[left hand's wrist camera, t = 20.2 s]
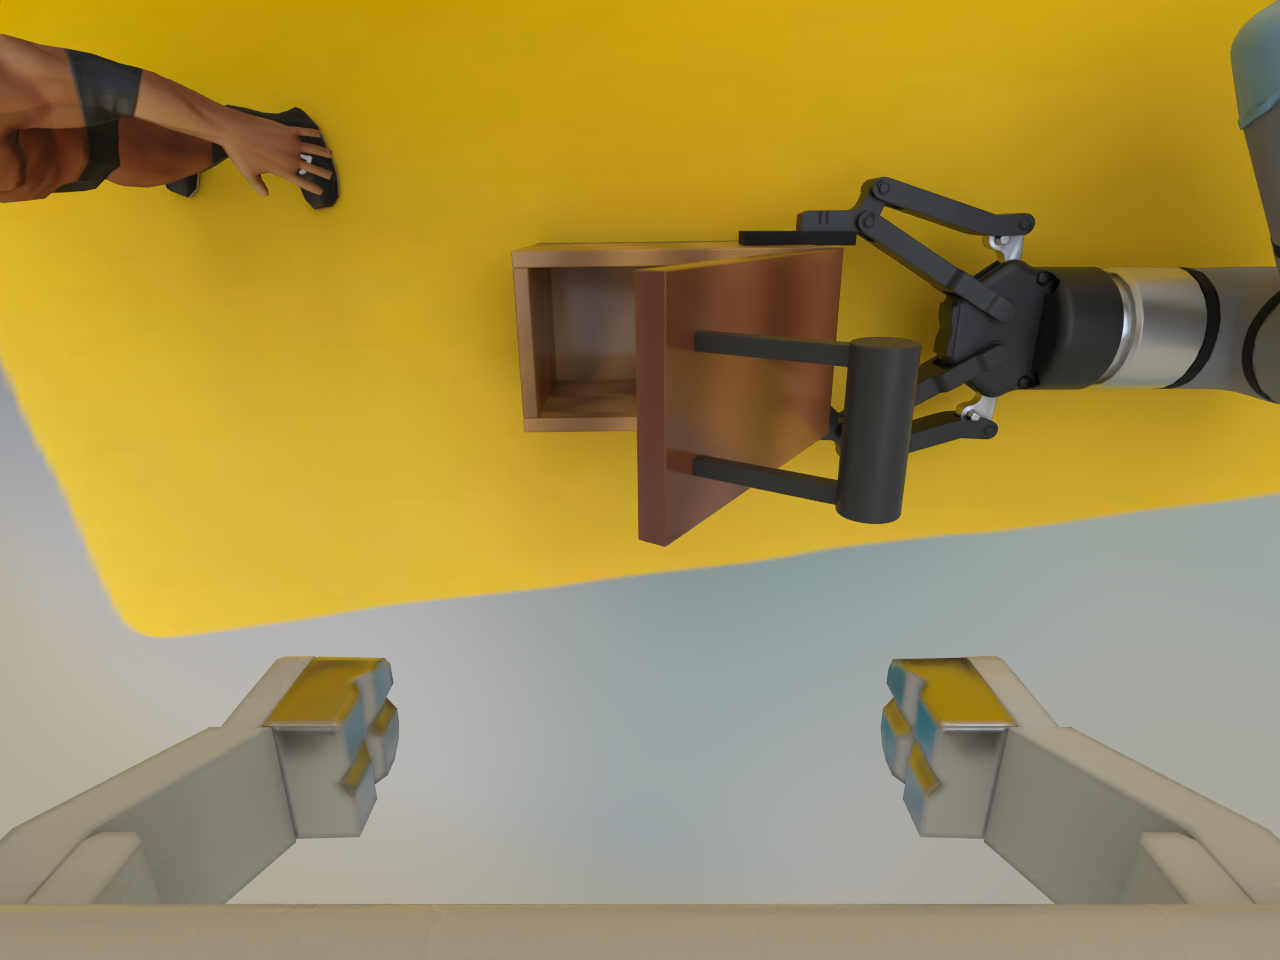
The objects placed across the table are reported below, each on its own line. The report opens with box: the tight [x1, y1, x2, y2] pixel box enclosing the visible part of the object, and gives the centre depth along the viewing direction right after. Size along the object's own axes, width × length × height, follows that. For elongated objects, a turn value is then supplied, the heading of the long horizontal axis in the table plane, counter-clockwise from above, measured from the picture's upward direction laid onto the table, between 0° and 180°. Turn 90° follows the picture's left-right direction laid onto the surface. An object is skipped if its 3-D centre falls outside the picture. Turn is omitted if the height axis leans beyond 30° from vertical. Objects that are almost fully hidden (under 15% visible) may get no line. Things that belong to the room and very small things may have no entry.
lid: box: [635, 248, 921, 547], centre depth 31 cm, size 18×10×9 cm
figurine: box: [0, 34, 339, 210], centre depth 33 cm, size 24×6×30 cm, turn 85°
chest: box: [512, 241, 828, 432], centre depth 46 cm, size 17×10×11 cm, turn 91°
